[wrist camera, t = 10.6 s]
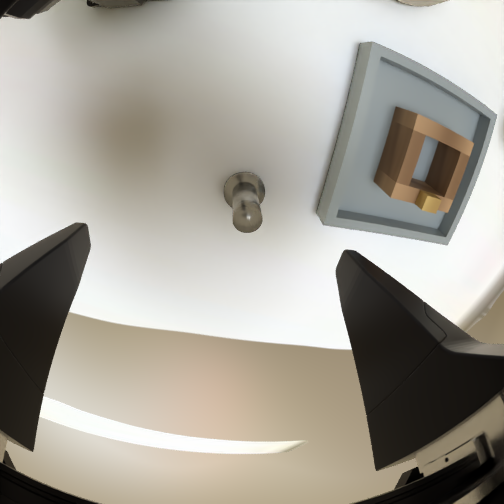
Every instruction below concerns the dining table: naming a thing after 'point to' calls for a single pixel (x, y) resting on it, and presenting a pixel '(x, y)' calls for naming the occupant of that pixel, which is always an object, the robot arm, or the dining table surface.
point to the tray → (374, 138)
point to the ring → (406, 157)
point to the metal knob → (245, 200)
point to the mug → (422, 2)
